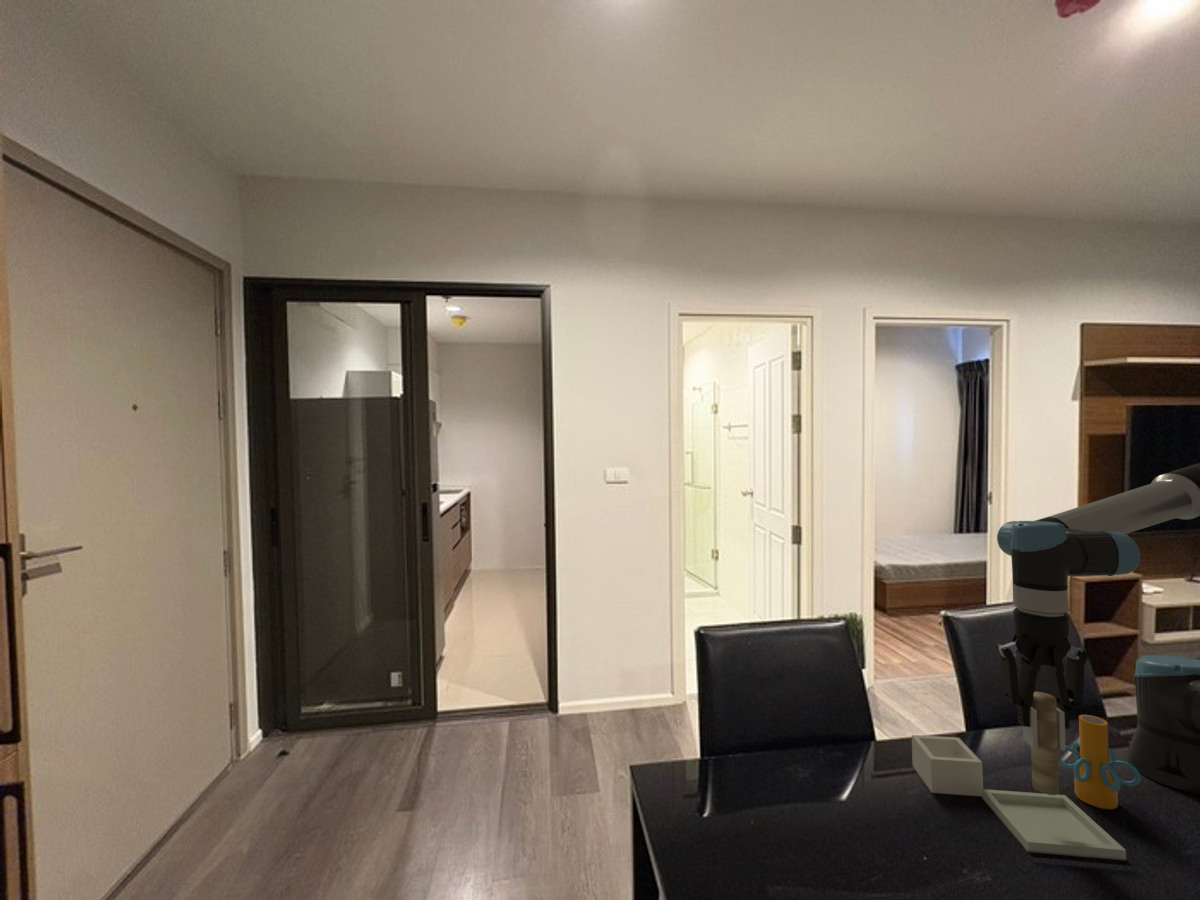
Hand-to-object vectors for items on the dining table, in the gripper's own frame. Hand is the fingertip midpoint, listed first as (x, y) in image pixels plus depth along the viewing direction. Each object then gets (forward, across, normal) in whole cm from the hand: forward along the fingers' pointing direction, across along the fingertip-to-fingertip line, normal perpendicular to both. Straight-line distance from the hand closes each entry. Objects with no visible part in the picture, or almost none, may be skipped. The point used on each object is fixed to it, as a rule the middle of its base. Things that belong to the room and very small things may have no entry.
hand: (1044, 744), depth 93 cm
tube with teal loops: (+15, -14, -10) cm, 23 cm away
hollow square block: (+15, +11, -12) cm, 22 cm away
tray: (+15, 0, 0) cm, 15 cm away
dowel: (+7, 0, 0) cm, 7 cm away
